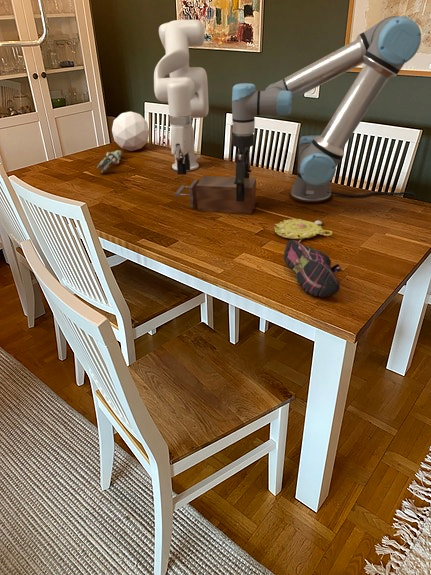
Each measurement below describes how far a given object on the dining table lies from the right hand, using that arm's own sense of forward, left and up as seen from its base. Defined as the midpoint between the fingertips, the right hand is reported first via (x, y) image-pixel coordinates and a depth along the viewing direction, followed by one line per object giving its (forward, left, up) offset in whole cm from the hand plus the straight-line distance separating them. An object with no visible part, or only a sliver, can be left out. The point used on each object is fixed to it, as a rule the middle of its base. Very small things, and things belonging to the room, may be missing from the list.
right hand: (242, 195), depth 163 cm
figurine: (+44, -71, -5) cm, 84 cm away
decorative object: (-12, +27, -5) cm, 29 cm away
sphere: (+31, -96, -5) cm, 101 cm away
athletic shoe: (-3, +55, -5) cm, 55 cm away
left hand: (+20, -10, +8) cm, 23 cm away
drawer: (+11, -6, -4) cm, 13 cm away
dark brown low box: (+5, -3, -5) cm, 8 cm away
